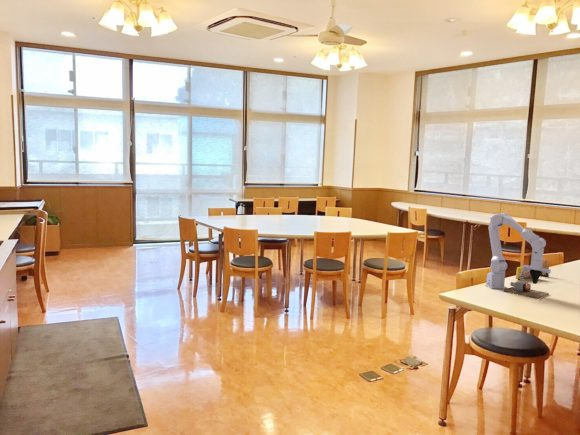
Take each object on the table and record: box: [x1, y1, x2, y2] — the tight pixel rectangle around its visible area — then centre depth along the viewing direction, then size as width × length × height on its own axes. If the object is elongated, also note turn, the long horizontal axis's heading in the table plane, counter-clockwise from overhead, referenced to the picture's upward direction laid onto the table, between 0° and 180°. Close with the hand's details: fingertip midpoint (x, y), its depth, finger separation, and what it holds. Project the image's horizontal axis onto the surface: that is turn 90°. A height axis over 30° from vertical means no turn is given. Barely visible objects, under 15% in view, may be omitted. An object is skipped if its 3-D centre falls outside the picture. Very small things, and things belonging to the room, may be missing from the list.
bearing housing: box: [514, 280, 529, 292], centre depth 271 cm, size 4×7×5 cm, turn 131°
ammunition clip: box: [540, 258, 550, 278], centre depth 313 cm, size 11×2×12 cm, turn 49°
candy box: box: [515, 266, 532, 279], centre depth 302 cm, size 16×2×8 cm, turn 105°
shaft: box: [510, 281, 532, 291], centre depth 272 cm, size 10×4×4 cm, turn 41°
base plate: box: [503, 286, 549, 300], centre depth 269 cm, size 19×14×1 cm
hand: (534, 283), depth 265 cm, fingers closed
